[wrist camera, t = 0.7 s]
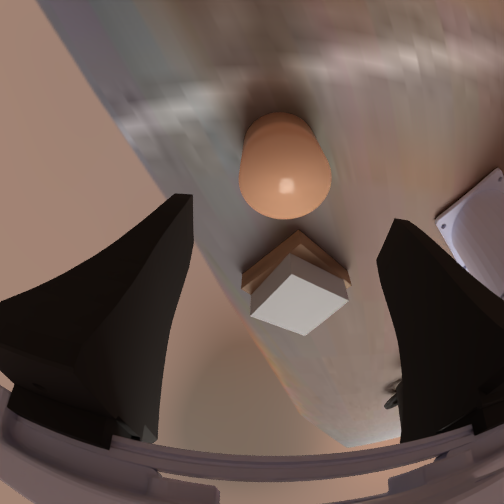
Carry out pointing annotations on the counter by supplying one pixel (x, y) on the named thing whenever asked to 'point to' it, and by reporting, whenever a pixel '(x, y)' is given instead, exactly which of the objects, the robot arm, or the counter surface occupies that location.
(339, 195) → the counter surface
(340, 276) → the slab lower
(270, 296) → the slab upper
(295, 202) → the terracotta cylinder
